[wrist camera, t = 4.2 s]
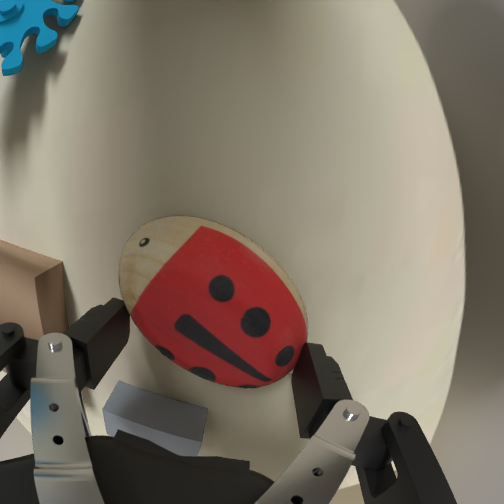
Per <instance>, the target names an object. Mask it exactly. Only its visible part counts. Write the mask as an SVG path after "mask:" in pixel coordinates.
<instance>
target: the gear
mask: <svg viewBox="0 0 504 504" xmlns="http://www.w3.org/2000/svg"><path fill="white" fill-rule="evenodd" d="M63 1H65V2H72V1H75V0H63ZM78 9H79V7H78V6H76V5H62V4H58V3H55V2H53V1H52V0H0V54H1V56H2V57H3V58H5V59H4V60H3V62H2V73H3V76H8V75H12V74H15V73H18V72H20V71H21V69H22V65H23V56H22V54H21V51H20V49H21V46H22V43H23V41H24V39H25V38H26V37H27V36H29V35H31V34H37V35H38V37H37V41H36V52H37V53H39V54H41V53H43V52H45V51H47V50H49V49H50V48H52V47H53V46H54V45H56V41H57V37H58V35H57V32H56V31H54V30H51V29H49V28H48V27H47V26H46V25H45V24H44V21H43V19H44V18H45V17H47V16H49V15H53V16H55V17H56V19H57V23H58V25H60V26H67V25H68V24H69V23H70V22H71V21H72V20H73V19H74V17H75V16H76V14H77V12H78Z"/></svg>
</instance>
